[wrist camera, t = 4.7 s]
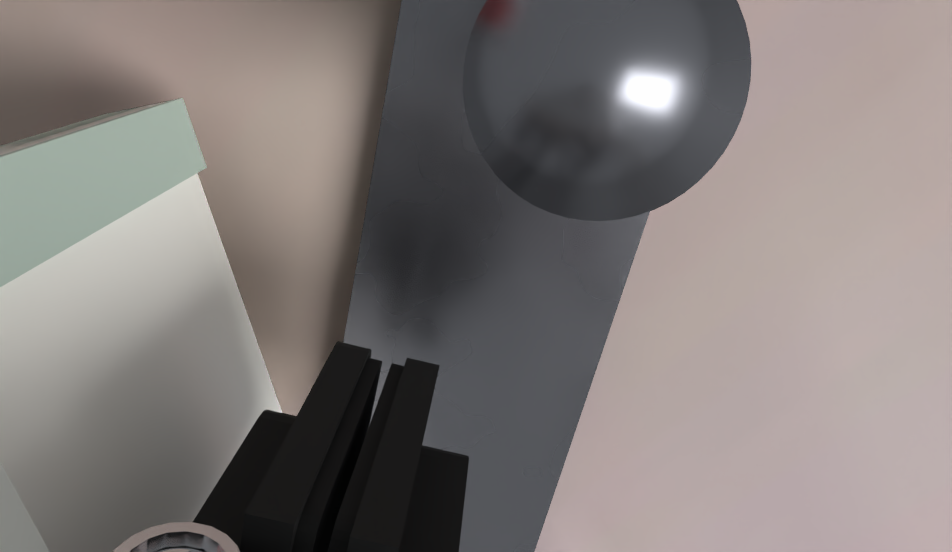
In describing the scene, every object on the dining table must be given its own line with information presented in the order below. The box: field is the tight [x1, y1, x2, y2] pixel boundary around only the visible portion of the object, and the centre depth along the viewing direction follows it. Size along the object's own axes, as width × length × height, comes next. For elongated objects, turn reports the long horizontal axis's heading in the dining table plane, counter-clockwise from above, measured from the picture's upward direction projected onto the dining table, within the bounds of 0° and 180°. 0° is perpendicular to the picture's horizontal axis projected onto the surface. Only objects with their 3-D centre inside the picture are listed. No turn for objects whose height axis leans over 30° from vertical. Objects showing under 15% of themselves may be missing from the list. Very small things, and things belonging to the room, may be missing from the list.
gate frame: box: [343, 0, 751, 552], centre depth 11 cm, size 22×17×8 cm
